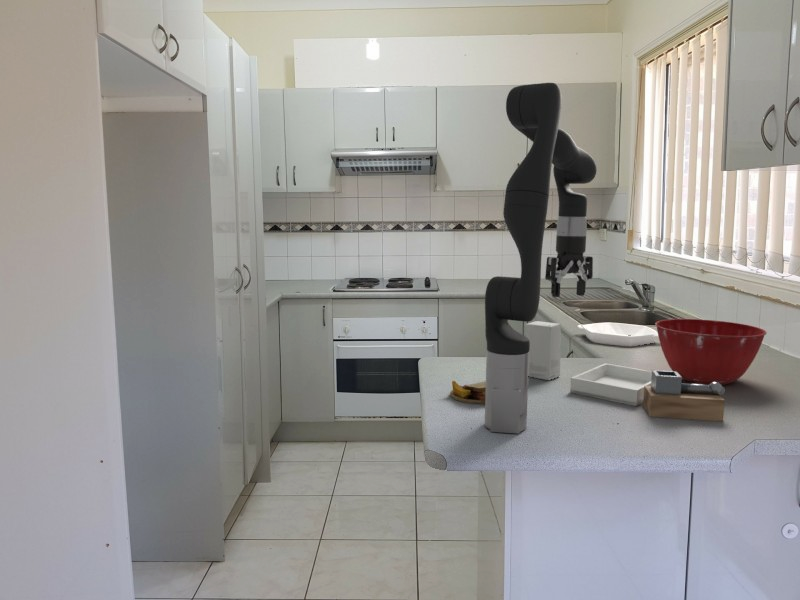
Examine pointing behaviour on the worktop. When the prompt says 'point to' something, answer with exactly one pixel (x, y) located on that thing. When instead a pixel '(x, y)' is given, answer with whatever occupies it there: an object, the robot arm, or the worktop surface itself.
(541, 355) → the skincare box
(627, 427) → the worktop surface
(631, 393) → the bin
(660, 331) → the mixing bowl
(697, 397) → the stud block
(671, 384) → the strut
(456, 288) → the worktop surface
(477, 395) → the toy sandwich meal
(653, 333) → the white serving platter
